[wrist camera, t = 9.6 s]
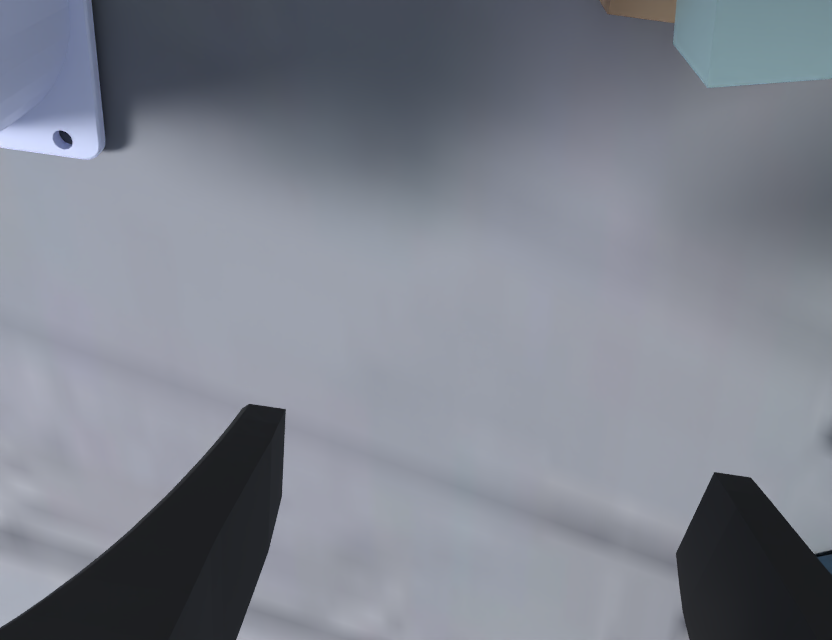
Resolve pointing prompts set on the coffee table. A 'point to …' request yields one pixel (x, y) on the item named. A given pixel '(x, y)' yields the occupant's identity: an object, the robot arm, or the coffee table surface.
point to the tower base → (642, 9)
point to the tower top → (755, 40)
